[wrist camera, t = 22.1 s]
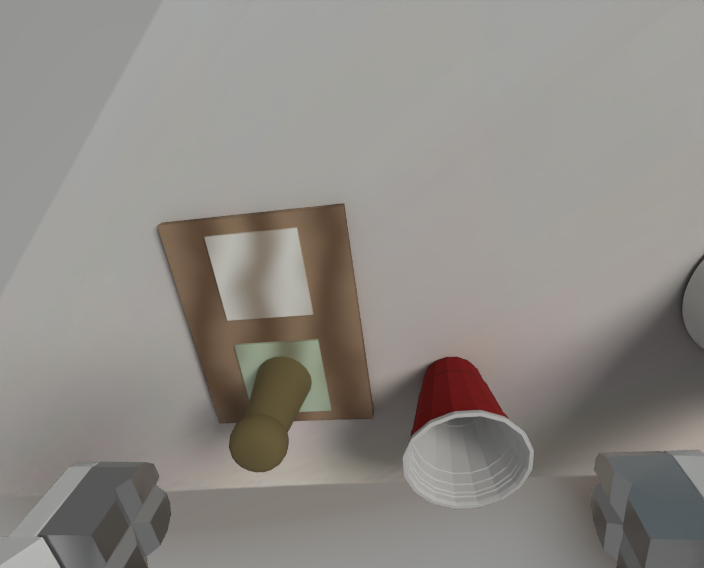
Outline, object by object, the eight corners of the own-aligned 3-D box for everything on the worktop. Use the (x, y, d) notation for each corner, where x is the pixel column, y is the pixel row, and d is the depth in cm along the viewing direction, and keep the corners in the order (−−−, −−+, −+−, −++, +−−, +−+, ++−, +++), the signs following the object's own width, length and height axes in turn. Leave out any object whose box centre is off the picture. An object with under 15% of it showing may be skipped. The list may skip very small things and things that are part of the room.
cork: (258, 400, 50) (222, 479, 40) (254, 354, 48) (215, 427, 38) (312, 404, 50) (289, 486, 40) (311, 358, 47) (286, 433, 37)
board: (344, 203, 41) (342, 207, 40) (373, 412, 51) (373, 420, 50) (162, 222, 44) (155, 226, 43) (222, 417, 53) (218, 425, 52)
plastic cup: (493, 426, 50) (518, 523, 39) (395, 411, 50) (393, 503, 40) (518, 342, 45) (554, 426, 34) (410, 328, 46) (412, 405, 35)
